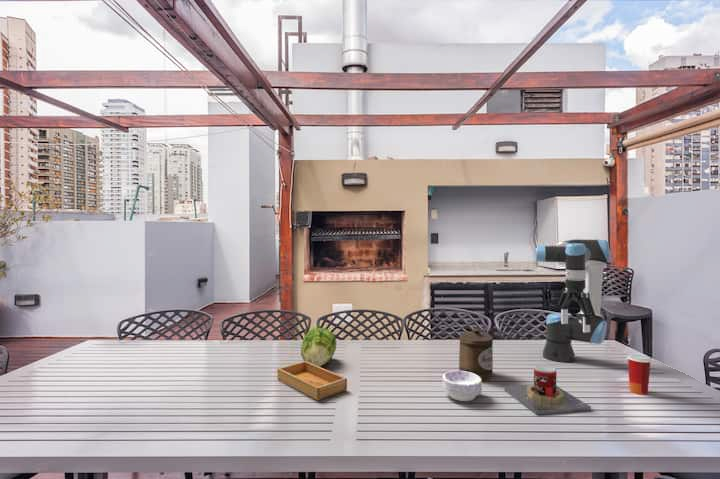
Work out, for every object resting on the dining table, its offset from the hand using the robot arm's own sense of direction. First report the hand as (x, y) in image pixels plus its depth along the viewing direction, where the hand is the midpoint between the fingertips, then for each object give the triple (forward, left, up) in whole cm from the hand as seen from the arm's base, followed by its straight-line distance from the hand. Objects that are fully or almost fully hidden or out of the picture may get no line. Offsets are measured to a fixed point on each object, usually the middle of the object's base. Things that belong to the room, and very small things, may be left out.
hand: (575, 327), depth 166 cm
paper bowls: (+5, -54, -25) cm, 60 cm away
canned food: (+13, -23, -23) cm, 35 cm away
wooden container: (-16, -38, -25) cm, 48 cm away
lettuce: (-42, -109, -25) cm, 120 cm away
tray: (-16, -114, -25) cm, 118 cm away
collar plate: (+13, -23, -24) cm, 36 cm away
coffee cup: (+12, +20, -25) cm, 34 cm away
